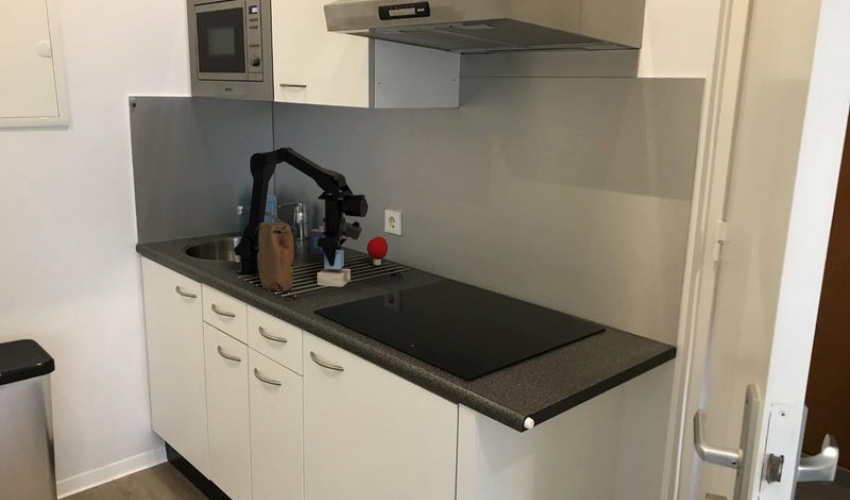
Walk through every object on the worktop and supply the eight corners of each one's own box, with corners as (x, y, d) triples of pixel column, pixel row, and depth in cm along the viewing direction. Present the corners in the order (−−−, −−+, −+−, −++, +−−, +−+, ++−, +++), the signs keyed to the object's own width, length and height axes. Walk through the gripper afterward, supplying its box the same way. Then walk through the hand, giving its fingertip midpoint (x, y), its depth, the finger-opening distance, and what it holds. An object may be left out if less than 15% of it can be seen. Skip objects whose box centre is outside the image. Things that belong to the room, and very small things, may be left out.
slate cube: (328, 264, 214) (328, 249, 213) (343, 265, 214) (343, 250, 213) (324, 268, 209) (324, 252, 208) (340, 269, 209) (340, 253, 208)
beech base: (326, 279, 217) (326, 267, 217) (350, 281, 216) (350, 269, 215) (317, 285, 210) (317, 273, 209) (342, 287, 208) (342, 275, 207)
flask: (334, 254, 251) (334, 226, 248) (331, 256, 248) (330, 227, 246) (311, 252, 253) (311, 224, 251) (308, 254, 251) (307, 225, 248)
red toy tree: (372, 262, 241) (372, 234, 239) (391, 264, 239) (391, 236, 237) (362, 268, 232) (363, 239, 230) (382, 270, 230) (382, 241, 228)
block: (257, 286, 206) (255, 221, 202) (278, 282, 211) (277, 219, 207) (276, 294, 198) (275, 227, 194) (298, 289, 204) (297, 224, 199)
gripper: (354, 220, 198) (353, 272, 202) (365, 210, 217) (364, 258, 220) (316, 219, 199) (317, 270, 203) (330, 209, 217) (330, 256, 221)
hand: (333, 263), depth 211 cm, fingers closed on slate cube, 5 cm apart
